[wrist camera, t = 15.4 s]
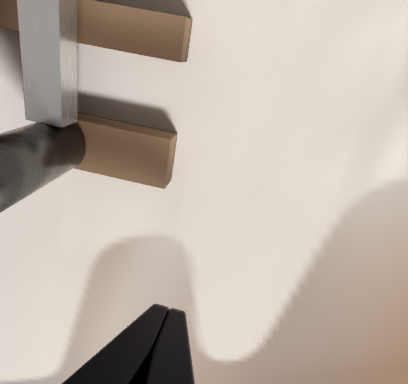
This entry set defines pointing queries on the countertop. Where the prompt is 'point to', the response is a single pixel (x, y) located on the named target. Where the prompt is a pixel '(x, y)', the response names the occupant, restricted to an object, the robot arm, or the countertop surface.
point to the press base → (111, 129)
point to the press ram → (43, 102)
